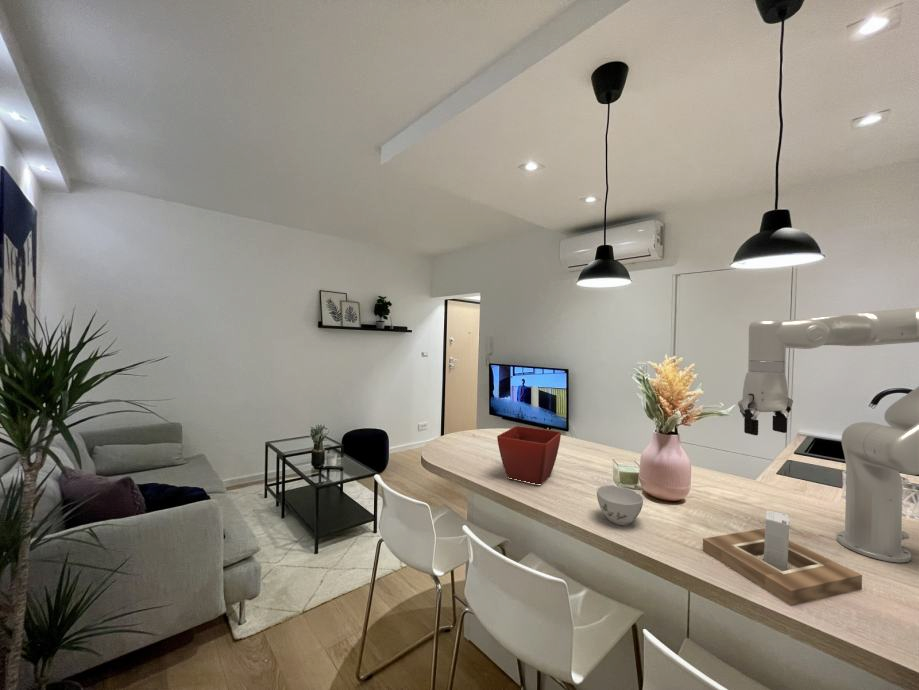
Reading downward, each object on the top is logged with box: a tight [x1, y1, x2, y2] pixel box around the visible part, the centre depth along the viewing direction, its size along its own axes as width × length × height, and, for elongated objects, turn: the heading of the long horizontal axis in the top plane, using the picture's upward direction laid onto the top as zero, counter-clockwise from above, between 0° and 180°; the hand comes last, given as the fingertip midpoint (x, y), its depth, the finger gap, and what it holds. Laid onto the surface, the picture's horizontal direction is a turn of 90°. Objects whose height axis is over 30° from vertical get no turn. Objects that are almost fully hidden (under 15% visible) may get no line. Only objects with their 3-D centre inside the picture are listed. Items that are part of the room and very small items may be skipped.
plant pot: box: [496, 425, 562, 485], centre depth 143 cm, size 19×19×17 cm
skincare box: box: [762, 509, 790, 571], centre depth 87 cm, size 6×4×12 cm
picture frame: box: [702, 528, 863, 606], centre depth 87 cm, size 20×20×3 cm
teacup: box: [596, 484, 644, 526], centre depth 110 cm, size 15×12×8 cm
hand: (765, 432), depth 98 cm, fingers open, 9 cm apart
